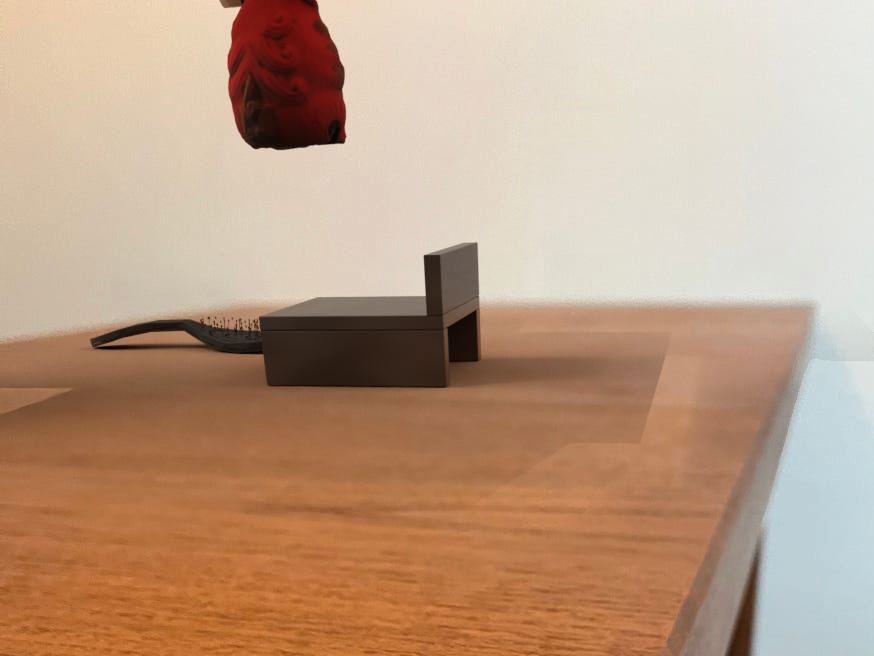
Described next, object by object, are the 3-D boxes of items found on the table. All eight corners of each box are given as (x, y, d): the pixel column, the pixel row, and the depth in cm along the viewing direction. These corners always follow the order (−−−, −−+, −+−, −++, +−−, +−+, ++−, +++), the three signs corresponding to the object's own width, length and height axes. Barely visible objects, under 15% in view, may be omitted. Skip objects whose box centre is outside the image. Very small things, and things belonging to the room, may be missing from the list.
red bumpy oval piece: (371, 146, 65) (350, -137, 59) (309, 145, 60) (278, -167, 53) (277, 151, 69) (247, -116, 62) (209, 151, 63) (169, -143, 57)
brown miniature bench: (266, 385, 75) (250, 258, 71) (322, 358, 86) (311, 245, 82) (446, 387, 72) (440, 254, 69) (481, 358, 83) (477, 242, 79)
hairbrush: (109, 310, 99) (350, 293, 94) (118, 349, 100) (355, 333, 95) (62, 323, 91) (322, 304, 86) (73, 364, 93) (328, 348, 88)
